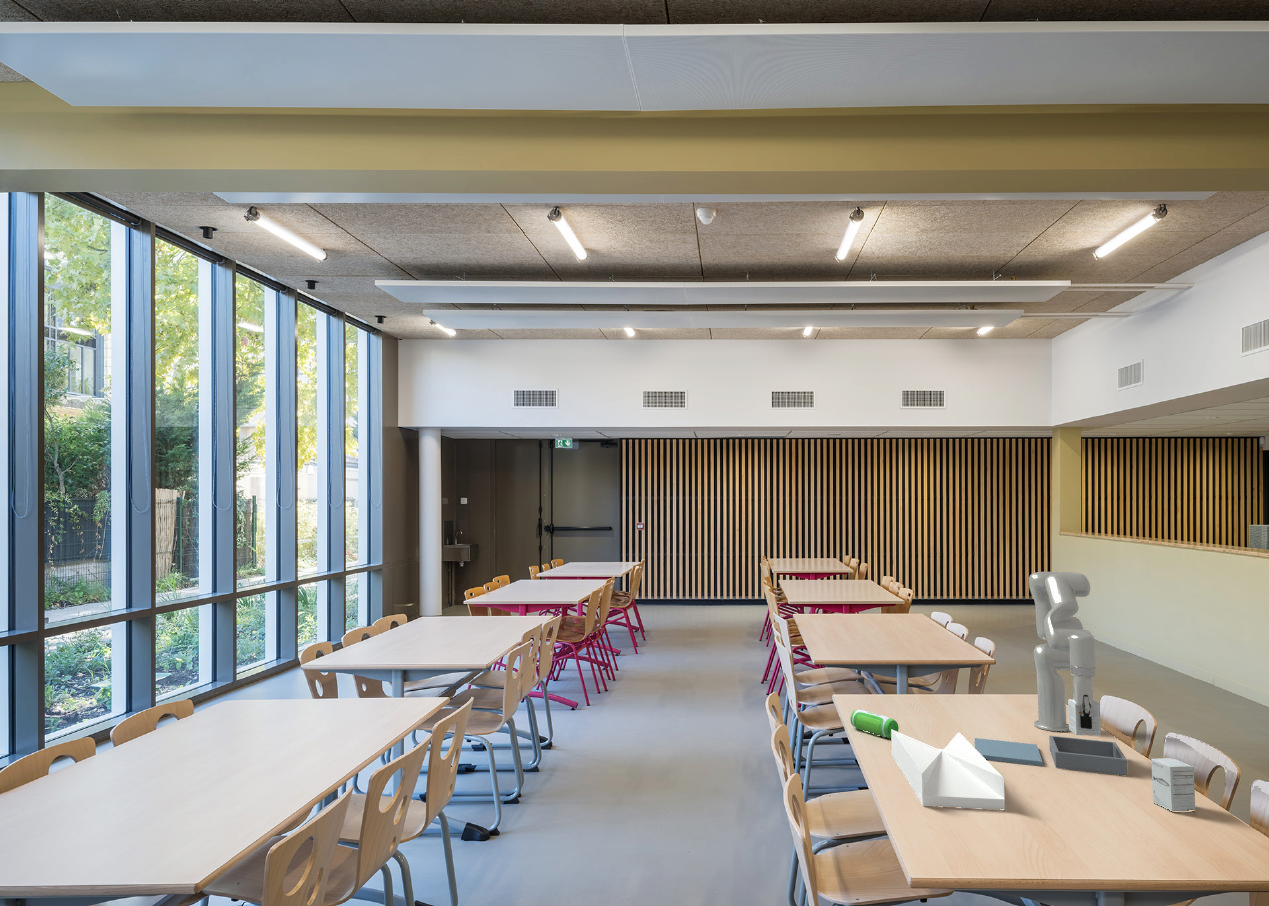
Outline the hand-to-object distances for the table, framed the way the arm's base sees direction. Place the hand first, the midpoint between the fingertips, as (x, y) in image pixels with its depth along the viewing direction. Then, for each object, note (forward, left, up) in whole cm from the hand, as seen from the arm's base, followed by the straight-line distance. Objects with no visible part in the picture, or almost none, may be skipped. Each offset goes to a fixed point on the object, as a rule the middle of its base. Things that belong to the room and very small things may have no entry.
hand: (1084, 724), depth 259 cm
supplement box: (+36, +17, -12) cm, 41 cm away
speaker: (-7, -68, -13) cm, 70 cm away
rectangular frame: (+1, 0, -12) cm, 12 cm away
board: (+1, -24, -12) cm, 27 cm away
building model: (+37, -44, -13) cm, 59 cm away
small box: (0, 0, -3) cm, 3 cm away
